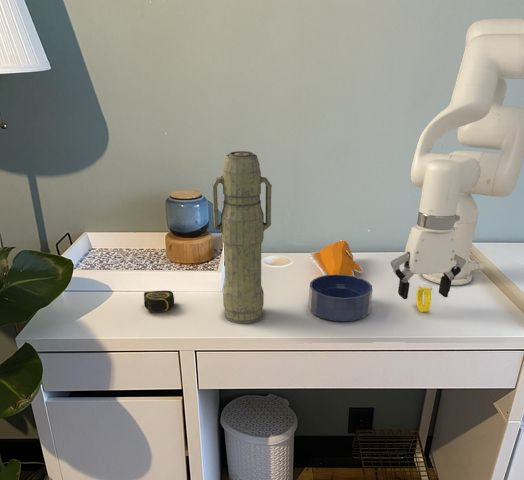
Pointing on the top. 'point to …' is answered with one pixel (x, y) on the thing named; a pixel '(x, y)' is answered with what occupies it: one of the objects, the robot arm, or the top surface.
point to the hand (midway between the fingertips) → (423, 296)
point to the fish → (335, 260)
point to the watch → (426, 289)
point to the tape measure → (159, 301)
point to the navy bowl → (340, 297)
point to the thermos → (242, 235)
